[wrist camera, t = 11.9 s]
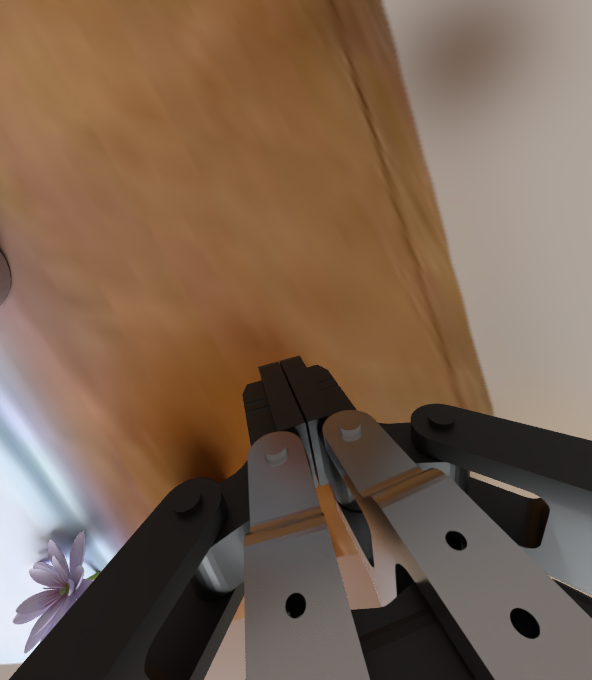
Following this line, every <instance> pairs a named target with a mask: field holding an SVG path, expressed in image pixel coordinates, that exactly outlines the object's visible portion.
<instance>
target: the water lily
mask: <svg viewBox="0 0 592 680" xmlns="http://www.w3.org/2000/svg"><path fill="white" fill-rule="evenodd" d="M48 554H49V558H50V561H51V563H52V564H53V566H54V567H53V566H51V565H49V564H47V563H44V562H37V563H36V564H34V565H33V569H30V570H29V573H30V576H31V577H32V579H33V580H34V581H36V582H37V583H40V584H42V585H45V586H48V587H50V588H43V589H54V590H47V591H43V592H40V593H38V594H35V595H33V596H31V597H29V598H28V599H26V600H25V601H24V602H23V603H22V604H21V605H20V606H19V607H18V608H17V610H16V612H17V613H18V614H17V615H16V617H15V618H14V621H13V623H15V624H23V623H26V622H29V621H31V620H33V619H35V618H36V617H38V616H40V615H41V614H43V613H44V612H45V613H44V614H43V615H42V616H41V617H40V618H39V619H38V621H37V622H36V623H35V625H34V627H33V629H32V631H31V633H30V636H29V638H28V641H27V643H26V646H25V651H24V653H27V652H28V651H30V650H31V649H32V648H33V647H34V646H35V645H36V644H37V643H38V642H39V641H40V639H41V641H42V640H43V639H44V638H45V637H46V636H47V634H48V633H49V632H50V631H51V630H52V629H53V627H54V626H55V625H56V624H57V623H58V622H59V620H60V619H61V618H62V617H63V616H64V615H65V613H66V612H67V611H68V610H69V609H70V608H71V606H72V605H73V604H74V603H75V602H76V599H78V598H79V597H80V596H81V595H82V594H83V592H84V591H85V590H86V589H87V588H88V587H89V585H90V584H91V583H92V582H93V581H92V580H94V579H95V578H96V577H97V576H98V575H99V574H100V572H97V573H96V574H94V575H92V576H91V577H89V578H87V579H83V576H84V568H83V567H82V564H83V560H84V554H85V534H84V530H83V531H82V532H80V533H79V534H78V535H77V537H76V538H75V540H74V542H73V545H72V548H71V552H70V573H69V568H68V565H67V562H66V559H65V557H64V555H63V553H62V552H61V550H60V549H59V547H58V546H57V545H56V544H55V543H54V542H53V541H52V540H51V539H50V540H49V543H48ZM40 643H41V642H40Z"/></svg>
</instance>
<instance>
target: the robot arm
mask: <svg viewBox="0 0 592 680" xmlns="http://www.w3.org/2000/svg"><path fill="white" fill-rule="evenodd" d="M10 284H11V277H10V271H9V267H8V265H7V262H6V260H5V258H4V256H3V255H2V253H1V252H0V305H1V304H2V303H3V301H4V300H5V299H6V297H7V295H8V293H9V290H10ZM258 368H259V372H260V376H261V380H262V381H258V382H254V383H251V384H247V386H246V388H245V390H244V392H243V394H242V395H243V401H244V407H245V413H246V419H247V425H248V431H249V438H250V444H251V448H250V450H249V453H248V460H247V461H246V463H245V464H244V465H243V467H242V468H241V469H240V470H239V471H237V472H236V473H235V474H233V475H232V476H231V477H229V478H227V479H226V480H224V481H222V482H221V483H219V484H217V482H215V481H214V480H212V479H210V478H201V477H200V478H194V479H191V480H188V481H186V482H184V483H182V484H180V485H178V486H177V487H175V488H174V489H173V490H172V491H171V492H169V494H168V495H167V496H166V497H165V498H164V499H163V500H162V501H161V503H160V504H159V505H158V506H157V507H156V508H155V510H154V511H153V512H152V513H151V514H150V515H149V517H148V518H147V519H146V520H145V521H144V522H143V524H142V525H141V526H140V527H139V528H138V529H137V531H136V532H135V533H134V534H133V535H132V536H131V538H130V539H129V540H128V541H127V542H126V543H125V545H124V546H123V547H122V548H121V549H120V550H119V552H118V553H117V554H116V555H115V556H114V557H113V559H112V560H111V561H110V562H109V563H108V564H107V566H106V567H105V568H104V569H103V570H102V571H101V573H100V574H99V575H98V576H97V577H96V578H95V580H94V581H93V582H92V583H91V584H90V585H89V587H88V588H87V589H86V590H85V591H84V592H83V594H82V595H81V596H80V597H79V598H78V599H77V601H76V602H75V603H74V604H73V605H72V606H71V608H70V609H69V610H68V611H67V612H66V613H65V615H64V616H63V617H62V618H61V619H60V620H59V622H58V623H57V624H56V625H55V626H54V627H53V629H52V630H51V631H50V632H49V633H48V634H47V636H46V637H45V638H44V639H43V640H42V641H41V643H40V644H39V645H38V646H37V647H36V648H35V650H34V651H33V652H32V653H31V654H30V655H29V657H28V658H27V659H26V660H25V661H24V662H23V664H22V665H21V666H20V667H19V668H18V669H17V671H16V672H15V673H14V674H13V676H12V677H11V678H10V679H9V680H204V678H205V676H206V674H207V671H208V670H209V667H210V665H211V663H212V661H213V659H214V657H215V655H216V653H217V651H218V648H219V646H220V644H221V642H222V640H223V638H224V636H225V634H226V632H227V630H228V628H229V625H230V623H231V621H232V619H233V617H234V615H235V613H236V611H237V609H238V607H239V605H240V602H241V600H242V598H243V596H244V597H245V650H246V651H245V653H246V680H592V598H591V597H589V596H587V595H585V594H583V593H581V592H579V591H577V590H575V589H573V588H571V587H569V586H567V585H565V584H563V583H561V582H559V581H557V580H554V579H551V578H550V577H549V576H548V575H550V576H552V577H554V578H556V579H558V580H560V581H562V582H565V583H567V584H569V585H571V586H573V587H575V588H577V589H579V590H582V591H583V592H586V593H588V594H590V595H592V441H590V440H586V439H582V438H578V437H574V436H570V435H566V434H562V433H558V432H554V431H550V430H546V429H542V428H538V427H534V426H530V425H526V424H522V423H518V422H513V421H510V420H506V419H502V418H498V417H494V416H490V415H486V414H482V413H478V412H474V411H470V410H466V409H462V408H458V407H454V406H450V405H445V404H428V405H424V406H421V407H419V408H418V409H416V410H415V411H414V412H413V413H412V416H411V423H395V424H383V423H377V422H376V420H375V419H374V418H373V417H371V416H370V415H369V414H367V413H365V412H362V411H357V410H356V408H355V407H354V406H353V404H352V403H351V402H350V400H349V399H348V397H347V396H346V395H345V393H344V392H343V390H342V389H341V388H340V386H338V384H337V382H336V381H335V380H334V378H333V377H332V375H331V374H330V373H329V371H328V370H327V369H325V368H323V367H321V366H319V365H315V366H311V367H306V366H305V364H304V362H303V361H302V359H301V357H300V356H296V357H292V358H289V359H285V360H281V361H280V364H279V362H274V363H271V364H267V365H263V366H260V367H258ZM470 471H473V472H476V473H478V474H481V475H484V476H487V477H490V478H493V479H495V480H498V481H501V482H504V483H507V484H510V485H512V486H515V487H518V488H521V489H523V490H526V491H529V492H532V493H534V494H536V495H538V496H539V497H541V498H538V499H532V498H527V497H524V496H521V495H518V494H515V493H513V492H510V491H507V490H504V489H502V488H499V487H496V486H493V485H491V484H488V483H485V482H483V481H480V480H477V479H474V478H471V477H470ZM316 477H317V479H318V482H319V484H320V486H322V485H325V484H328V483H329V485H330V487H331V489H332V492H333V495H334V500H335V506H336V509H337V511H338V513H339V515H340V517H341V519H342V521H343V523H344V525H345V527H346V529H347V531H348V533H349V535H350V537H351V539H352V541H353V542H354V544H355V546H356V548H357V550H358V552H359V554H360V556H361V558H362V560H363V562H364V564H365V566H366V568H367V570H368V572H369V574H370V576H371V578H372V580H373V583H374V585H375V588H376V592H377V595H378V598H379V600H380V603H381V606H382V607H381V608H370V609H357V610H350V606H349V603H348V599H347V595H346V592H345V588H344V585H343V581H342V577H341V574H340V570H339V567H338V563H337V559H336V556H335V552H334V549H333V545H332V542H331V538H330V534H329V531H328V527H327V524H326V520H325V517H324V514H323V512H322V511H321V508H320V504H319V500H318V497H317V493H316V489H315V488H317V487H318V484H317V479H316Z"/></svg>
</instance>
